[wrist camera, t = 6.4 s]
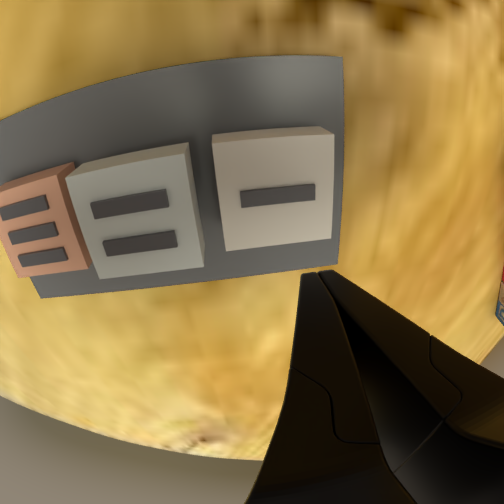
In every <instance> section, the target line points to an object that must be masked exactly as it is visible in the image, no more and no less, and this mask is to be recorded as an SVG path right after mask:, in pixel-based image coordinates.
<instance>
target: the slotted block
mask: <svg viewBox="0 0 504 504" xmlns="http://www.w3.org/2000/svg"><path fill="white" fill-rule="evenodd" d="M74 170H75V166H74V162H71V163H67V164H63V165H60V166H56V167H53V168H50V169H46V170H43V171H40V172H36V173H33V174H30V175H27V176H24V177H21V178H18V179H15V180H12V181H9V182H6V183H4V184H3V185H1V186H0V239H1V241H2V244H3V246H4V248H5V250H6V253H7V255H8V257H9V259H10V261H11V264H12V266H13V268H14V270H15V272H16V274H17V276H18V278H22V277H30V276H38V275H45V274H53V273H61V272H68V271H76V270H84V269H89V267H90V265H91V263H92V259H91V256H90V253H89V251H88V248H87V245H86V242H85V240H84V237H83V234H82V231H81V228H80V225H79V222H78V219H77V216H76V213H75V210H74V207H73V203H72V200H71V197H70V193H69V190H68V187H67V183H66V179H65V178H66V177H67V176H68V175H69V174H70V173H72V172H73V171H74Z"/></svg>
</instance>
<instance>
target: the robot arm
mask: <svg viewBox="0 0 504 504" xmlns="http://www.w3.org/2000/svg"><path fill="white" fill-rule="evenodd" d="M244 504H504V378H502V377H500V376H498V375H497V374H495V373H493V372H491V371H489V370H488V369H486V368H484V367H482V366H481V365H479V364H477V363H475V362H474V361H472V360H470V359H469V358H467V357H465V356H463V355H462V354H460V353H458V352H457V351H455V350H454V349H452V348H451V347H449V346H448V345H446V344H445V343H443V342H442V341H440V340H439V339H437V338H436V337H434V336H433V335H431V336H430V334H429V333H428V332H427V331H425V330H424V329H422V328H421V327H419V326H418V325H416V324H415V323H413V322H412V321H410V320H409V319H407V318H406V317H404V316H403V315H401V314H400V313H398V312H397V311H395V310H394V309H392V308H391V307H389V306H388V305H386V304H385V303H383V302H382V301H380V300H379V299H377V298H376V297H374V296H373V295H371V294H369V293H368V292H366V291H365V290H363V289H362V288H360V287H359V286H357V285H356V284H354V283H353V282H351V281H349V280H348V279H346V278H345V277H343V276H342V275H340V274H339V273H337V272H335V271H334V270H324V271H319V272H318V273H316V272H310V273H303V274H302V275H301V279H300V288H299V297H298V306H297V315H296V323H295V331H294V339H293V346H292V354H291V361H290V369H289V374H288V381H287V387H286V392H285V397H284V401H283V405H282V409H281V412H280V415H279V418H278V422H277V425H276V428H275V430H274V433H273V436H272V439H271V441H270V444H269V447H268V450H267V452H266V455H265V457H264V460H263V463H262V466H261V468H260V470H259V473H258V475H257V478H256V480H255V482H254V485H253V487H252V489H251V491H250V493H249V495H248V497H247V499H246V501H245V502H244Z"/></svg>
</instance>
